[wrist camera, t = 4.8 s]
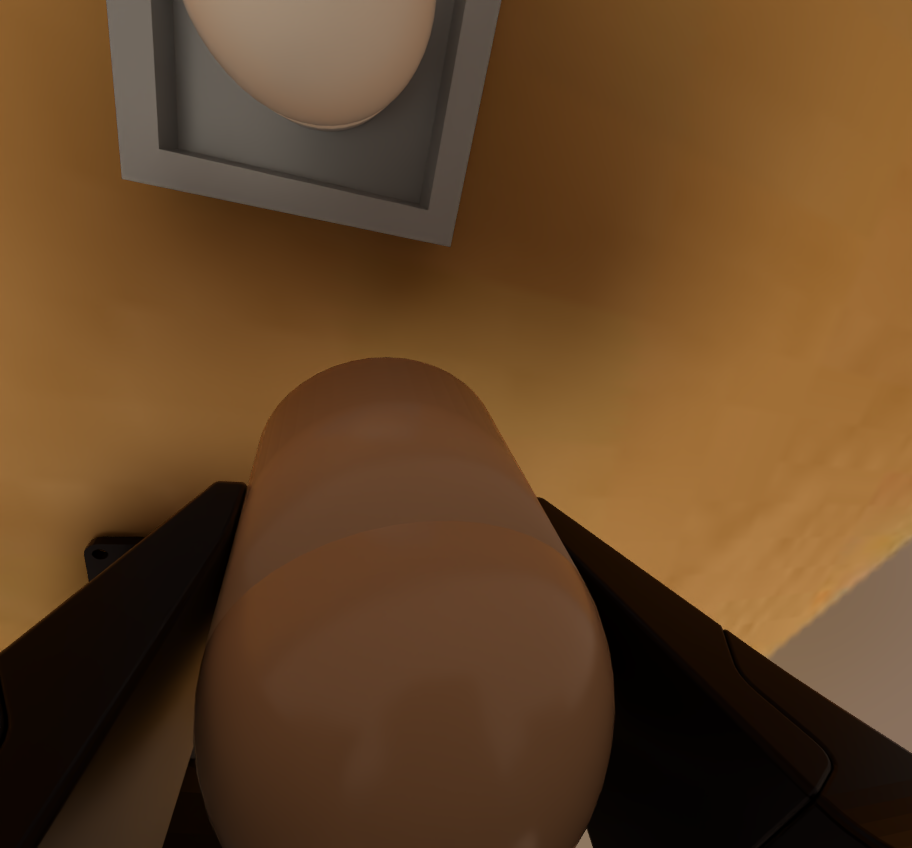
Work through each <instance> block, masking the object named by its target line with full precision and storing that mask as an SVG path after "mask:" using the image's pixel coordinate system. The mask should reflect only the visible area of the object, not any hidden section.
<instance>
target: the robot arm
mask: <svg viewBox="0 0 912 848" xmlns="http://www.w3.org/2000/svg"><path fill="white" fill-rule="evenodd" d="M246 491H247V486H246V484H245V483H243V482H228V481H218V482H215V483H213V484H212V485H211V486H210V487H208V488H207V489H206V490H205V491H203V492H202V493H201V494H200V495H198V496H197V497H196V498H194V499H193V500H192V501H191V502H189V503H188V504H187V505H186V506H184V507H183V508H182V509H181V510H179V511H178V512H177V513H176V514H174V515H173V516H172V517H171V518H169V519H168V520H167V521H165V522H164V523H163V524H162V525H160V526H159V527H158V528H157V529H155V530H154V531H153V532H152V533H150V534H149V535H148V536H147V537H96V538H94V539H92V540H91V541H90V543H89V544H88V546H87V547H86V549H85V551H84V557H85V562H86V568H87V574H88V579H89V583H87V584H86V585H85V586H84V587H82V588H81V589H80V590H79V591H77V592H76V593H75V594H74V595H72V596H71V597H70V598H68V599H67V600H66V601H65V602H63V603H62V604H61V605H60V606H58V607H57V608H56V609H55V610H53V611H52V612H51V613H50V614H48V615H47V616H46V617H45V618H43V619H42V620H41V621H39V622H38V623H37V624H36V625H34V626H33V627H32V628H31V629H29V630H28V631H27V632H26V633H24V634H23V635H22V636H21V637H19V638H18V639H17V640H16V641H14V642H13V643H12V644H11V645H9V646H8V647H7V648H5V649H4V650H3V651H2V652H0V848H222V847H221V845H220V843H219V841H218V839H217V836H216V834H215V832H214V830H213V828H212V826H211V824H210V822H209V819H208V816H207V812H206V809H205V805H204V802H203V798H202V795H201V791H200V787H199V782H198V777H197V770H196V762H195V754H194V745H193V726H194V704H195V692H196V686H197V681H198V675H199V670H200V665H201V661H202V657H203V653H204V649H205V645H206V642H207V638H208V634H209V630H210V626H211V623H212V619H213V615H214V611H215V607H216V604H217V600H218V596H219V592H220V589H221V585H222V581H223V577H224V573H225V570H226V566H227V562H228V559H229V555H230V551H231V547H232V544H233V540H234V536H235V532H236V528H237V525H238V521H239V517H240V513H241V509H242V506H243V502H244V498H245V494H246ZM537 499H538V501H539V503H540V504H541V506H542V508H543V510H544V511H545V513H546V515H547V517H548V518H549V520H550V522H551V524H552V526H553V527H554V529H555V531H556V533H557V534H558V536H559V538H560V540H561V541H562V543H563V545H564V547H565V549H566V550H567V552H568V554H569V556H570V557H571V559H572V561H573V563H574V564H575V566H576V568H577V570H578V571H579V573H580V575H581V577H582V579H583V580H584V582H585V584H586V586H587V588H588V590H589V592H590V594H591V596H592V599H593V601H594V603H595V605H596V607H597V610H598V613H599V616H600V619H601V622H602V626H603V629H604V632H605V635H606V639H607V642H608V645H609V651H610V657H611V663H612V669H613V677H614V692H615V722H614V731H613V741H612V749H611V756H610V761H609V765H608V769H607V773H606V777H605V781H604V785H603V789H602V791H601V794H600V797H599V799H598V802H597V804H596V807H595V809H594V811H593V814H592V816H591V819H590V821H589V824H588V826H587V831H588V834H589V837H590V840H591V843H592V846H593V848H912V753H910V752H909V751H907V750H906V749H904V748H903V747H901V746H900V745H898V744H897V743H895V742H893V741H892V740H890V739H889V738H887V737H886V736H884V735H883V734H881V733H880V732H878V731H876V730H875V729H873V728H872V727H870V726H869V725H867V724H866V723H864V722H862V721H861V720H859V719H858V718H856V717H855V716H853V715H851V714H850V713H848V712H847V711H845V710H844V709H842V708H841V707H839V706H838V705H836V704H835V703H833V702H831V701H830V700H828V699H827V698H825V697H824V696H822V695H821V694H819V693H818V692H816V691H814V690H813V689H812V688H810V687H809V686H807V685H806V684H804V683H802V682H801V681H799V680H798V679H796V678H795V677H793V676H792V675H790V674H789V673H787V672H786V671H784V670H783V669H782V668H780V667H779V666H777V665H776V664H774V663H773V662H771V661H770V660H769V659H767V658H766V657H764V656H763V655H762V654H760V653H759V652H757V651H756V650H754V649H753V648H751V647H750V646H749V645H747V644H746V643H744V642H743V641H742V640H740V639H739V638H738V637H736V636H735V635H733V634H732V633H731V632H729V631H728V630H723V629H722V627H721V625H719V624H718V623H716V622H715V621H714V620H712V619H711V618H710V617H708V616H707V615H705V614H704V613H703V612H701V611H700V610H698V609H697V608H696V607H694V606H693V605H691V604H690V603H689V602H687V601H686V600H684V599H683V598H682V597H680V596H679V595H677V594H676V593H675V592H673V591H672V590H670V589H669V588H668V587H666V586H665V585H663V584H662V583H661V582H659V581H658V580H656V579H655V578H654V577H652V576H651V575H649V574H648V573H647V572H645V571H644V570H642V569H641V568H640V567H638V566H637V565H635V564H634V563H633V562H631V561H630V560H628V559H627V558H626V557H624V556H623V555H621V554H620V553H619V552H617V551H616V550H614V549H613V548H612V547H610V546H609V545H607V544H606V543H605V542H603V541H602V540H601V539H599V538H598V537H596V536H595V535H594V534H592V533H591V532H589V531H588V530H587V529H585V528H584V527H582V526H581V525H580V524H578V523H577V522H575V521H574V520H573V519H571V518H570V517H568V516H567V515H566V514H564V513H563V512H561V511H560V510H559V509H557V508H556V507H554V506H553V505H552V504H550V503H549V502H547V501H546V500H545V499H543V498H540V497H537ZM98 549H102V550H105V551H106V552H103V551H100V550H98Z"/></svg>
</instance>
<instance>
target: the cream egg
mask: <svg viewBox="0 0 912 848" xmlns="http://www.w3.org/2000/svg"><path fill="white" fill-rule="evenodd" d="M183 3H184V5H185V8H186V10H187V13H188V15H189V17H190V19H191V21H192V23H193V25H194V26H195V28H196V30H197V32H198V34H199V36H200V37H201V39H202V40H203V42H204V44H205V45H206V47H207V48H208V50H209V51H210V53H211V54H212V55H213V57H214V58H215V59H216V60H217V62H218V63H219V64H220V65H221V67H222V68H223V69H224V70H225V72H226V73H227V74H228V75H229V76H230V77H231V78H232V79H233V80H234V81H235V82H236V83H237V84H238V85H239V86H240V87H241V88H242V89H243V90H244V91H246V92H247V93H248V94H249V95H250V96H252V97H253V98H254V99H255V100H257V101H258V102H260V103H261V104H263V105H264V106H266V107H268V108H269V109H271V110H272V111H274V112H276V113H277V114H279V115H281V116H282V117H284V118H286V119H288V120H289V121H291V122H293V123H296V124H298V125H300V126H303V127H306V128H309V129H312V130H317V131H324V132H336V131H345V130H348V129H352V128H355V127H357V126H359V125H362V124H364V123H365V122H367V121H368V120H370V119H372V118H373V117H374V116H375V115H377V114H378V113H379V112H380V111H382V110H383V109H384V108H385V107H386V106H388V105H389V104H390V103H391V102H392V101H393V100H394V99H395V98H396V97H398V95H399V94H400V93H401V92H402V91H403V89H404V88H405V87H406V86H407V84H408V83H409V81H410V80H411V78H412V77H413V75H414V73H415V72H416V70H417V68H418V66H419V64H420V61H421V59H422V57H423V55H424V53H425V50H426V47H427V44H428V41H429V38H430V35H431V30H432V25H433V21H434V15H435V6H436V0H183Z"/></svg>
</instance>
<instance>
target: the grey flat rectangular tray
mask: <svg viewBox="0 0 912 848" xmlns="http://www.w3.org/2000/svg"><path fill="white" fill-rule="evenodd" d="M106 3H107V14H108V26H109V37H110V48H111V60H112V71H113V83H114V94H115V105H116V117H117V128H118V139H119V151H120V162H121V174H122V179H125V180H130V181H135V182H140V183H144V184H149V185H154V186H159V187H164V188H169V189H173V190H178V191H183V192H188V193H193V194H197V195H202V196H207V197H212V198H217V199H221V200H226V201H231V202H236V203H241V204H246V205H250V206H255V207H260V208H265V209H270V210H274V211H279V212H284V213H289V214H294V215H299V216H303V217H308V218H313V219H318V220H323V221H327V222H332V223H337V224H342V225H347V226H351V227H356V228H361V229H366V230H371V231H376V232H380V233H385V234H390V235H395V236H400V237H404V238H409V239H414V240H419V241H424V242H429V243H433V244H438V245H443V246H448V247H450V246H451V241H452V237H453V232H454V227H455V222H456V217H457V212H458V208H459V203H460V198H461V193H462V188H463V183H464V179H465V174H466V169H467V164H468V159H469V154H470V150H471V145H472V140H473V135H474V130H475V125H476V121H477V116H478V111H479V106H480V101H481V96H482V92H483V87H484V82H485V77H486V72H487V67H488V63H489V58H490V53H491V48H492V43H493V38H494V34H495V29H496V24H497V19H498V14H499V9H500V5H501V0H436V6H435V15H434V21H433V25H432V30H431V35H430V38H429V41H428V44H427V47H426V50H425V53H424V55H423V57H422V59H421V61H420V64H419V66H418V68H417V70H416V72H415V73H414V75H413V77H412V78H411V80H410V81H409V83H408V84H407V86H406V87H405V88H404V89H403V91H402V92H401V93H400V94H399V95H398V97H396V98H395V99H394V100H393V101H392V102H391V103H390V104H389V105H388V106H386V107H385V108H384V109H383V110H382V111H380V112H379V113H378V114H377V115H375V116H374V117H373V118H372V119H370V120H368V121H367V122H365V123H364V124H362V125H359V126H357V127H355V128H352V129H348V130H345V131H336V132H324V131H317V130H312V129H309V128H306V127H303V126H300V125H298V124H296V123H293V122H291V121H289V120H288V119H286V118H284V117H282V116H281V115H279V114H277V113H276V112H274V111H272V110H271V109H269V108H268V107H266V106H264V105H263V104H261V103H260V102H258V101H257V100H255V99H254V98H253V97H252V96H250V95H249V94H248V93H247V92H246V91H244V90H243V89H242V88H241V87H240V86H239V85H238V84H237V83H236V82H235V81H234V80H233V79H232V78H231V77H230V76H229V75H228V74H227V73H226V72H225V70H224V69H223V68H222V67H221V65H220V64H219V63H218V62H217V60H216V59H215V58H214V57H213V55H212V54H211V53H210V51H209V50H208V48H207V47H206V45H205V44H204V42H203V40H202V39H201V37H200V36H199V34H198V32H197V30H196V28H195V26H194V25H193V23H192V21H191V19H190V17H189V15H188V13H187V10H186V8H185V5H184V3H183V0H106Z"/></svg>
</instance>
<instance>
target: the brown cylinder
mask: <svg viewBox="0 0 912 848" xmlns="http://www.w3.org/2000/svg"><path fill="white" fill-rule="evenodd" d="M614 722H615V692H614V677H613V669H612V663H611V657H610V651H609V645H608V642H607V639H606V635H605V632H604V629H603V626H602V622H601V619H600V616H599V613H598V610H597V607H596V605H595V603H594V601H593V599H592V596H591V594H590V592H589V590H588V588H587V586H586V584H585V582H584V580H583V579H582V577H581V575H580V573H579V571H578V570H577V568H576V566H575V564H574V563H573V561H572V559H571V557H570V556H569V554H568V552H567V550H566V549H565V547H564V545H563V543H562V541H561V540H560V538H559V536H558V534H557V533H556V531H555V529H554V527H553V526H552V524H551V522H550V520H549V518H548V517H547V515H546V513H545V511H544V510H543V508H542V506H541V504H540V503H539V501H538V499H537V497H536V495H535V494H534V492H533V490H532V488H531V487H530V485H529V483H528V481H527V480H526V478H525V476H524V474H523V472H522V471H521V469H520V467H519V465H518V464H517V462H516V460H515V458H514V457H513V455H512V453H511V451H510V450H509V448H508V446H507V444H506V442H505V441H504V439H503V437H502V435H501V434H500V432H499V430H498V428H497V427H496V425H495V423H494V421H493V419H492V418H491V416H490V414H489V412H488V411H487V409H486V407H485V406H484V404H483V402H482V401H481V400H480V399H479V398H478V396H477V395H476V394H475V393H474V392H473V391H472V390H471V389H470V388H469V387H468V386H467V385H466V384H464V383H463V382H462V381H460V380H459V379H457V378H456V377H454V376H453V375H451V374H450V373H448V372H446V371H444V370H441V369H439V368H437V367H435V366H432V365H429V364H426V363H423V362H419V361H414V360H409V359H403V358H389V357H383V358H367V359H361V360H356V361H350V362H347V363H344V364H340V365H337V366H334V367H332V368H329V369H327V370H325V371H323V372H320V373H318V374H316V375H315V376H313V377H311V378H310V379H308V380H306V381H305V382H303V383H302V384H300V385H299V386H298V387H297V388H295V389H294V390H293V391H292V392H290V393H289V394H288V395H287V396H286V397H285V398H284V400H283V401H282V402H281V403H280V404H279V405H278V406H277V408H276V409H275V410H274V412H273V413H272V415H271V416H270V418H269V419H268V421H267V423H266V425H265V428H264V430H263V432H262V435H261V438H260V441H259V445H258V448H257V452H256V456H255V460H254V463H253V467H252V471H251V475H250V479H249V482H248V486H247V491H246V494H245V498H244V502H243V506H242V509H241V513H240V517H239V521H238V525H237V528H236V532H235V536H234V540H233V544H232V547H231V551H230V555H229V559H228V562H227V566H226V570H225V573H224V577H223V581H222V585H221V589H220V592H219V596H218V600H217V604H216V607H215V611H214V615H213V619H212V623H211V626H210V630H209V634H208V638H207V642H206V645H205V649H204V653H203V657H202V661H201V665H200V670H199V675H198V681H197V686H196V692H195V704H194V726H193V745H194V754H195V762H196V770H197V777H198V782H199V787H200V791H201V795H202V798H203V802H204V805H205V809H206V812H207V816H208V819H209V822H210V824H211V826H212V828H213V830H214V832H215V834H216V836H217V839H218V841H219V843H220V845H221V847H222V848H575V847H576V845H577V844H578V842H579V840H580V839H581V837H582V835H583V834H584V832H585V830H586V829H587V826H588V824H589V821H590V819H591V816H592V814H593V811H594V809H595V807H596V804H597V802H598V799H599V797H600V794H601V791H602V789H603V785H604V781H605V777H606V773H607V769H608V765H609V761H610V756H611V749H612V741H613V731H614Z"/></svg>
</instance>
